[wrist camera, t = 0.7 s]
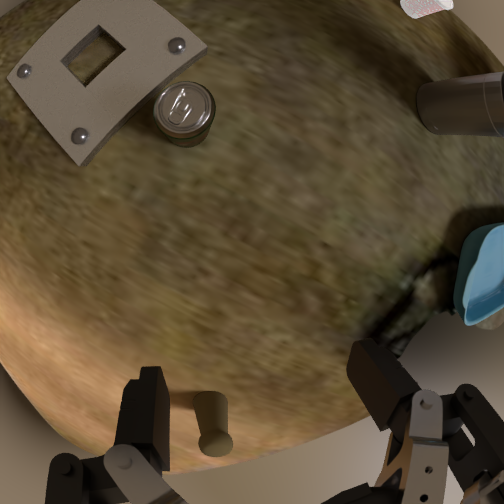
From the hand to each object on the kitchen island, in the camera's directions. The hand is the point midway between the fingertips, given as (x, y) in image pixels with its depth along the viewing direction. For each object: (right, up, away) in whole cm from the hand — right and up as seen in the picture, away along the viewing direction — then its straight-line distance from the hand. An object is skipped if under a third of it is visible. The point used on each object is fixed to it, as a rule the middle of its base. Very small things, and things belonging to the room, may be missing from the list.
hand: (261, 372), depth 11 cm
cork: (-8, -21, +33) cm, 39 cm away
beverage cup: (+28, +49, +18) cm, 59 cm away
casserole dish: (+55, +3, +38) cm, 67 cm away
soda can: (-8, +19, +20) cm, 29 cm away
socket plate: (-20, +29, +14) cm, 38 cm away
